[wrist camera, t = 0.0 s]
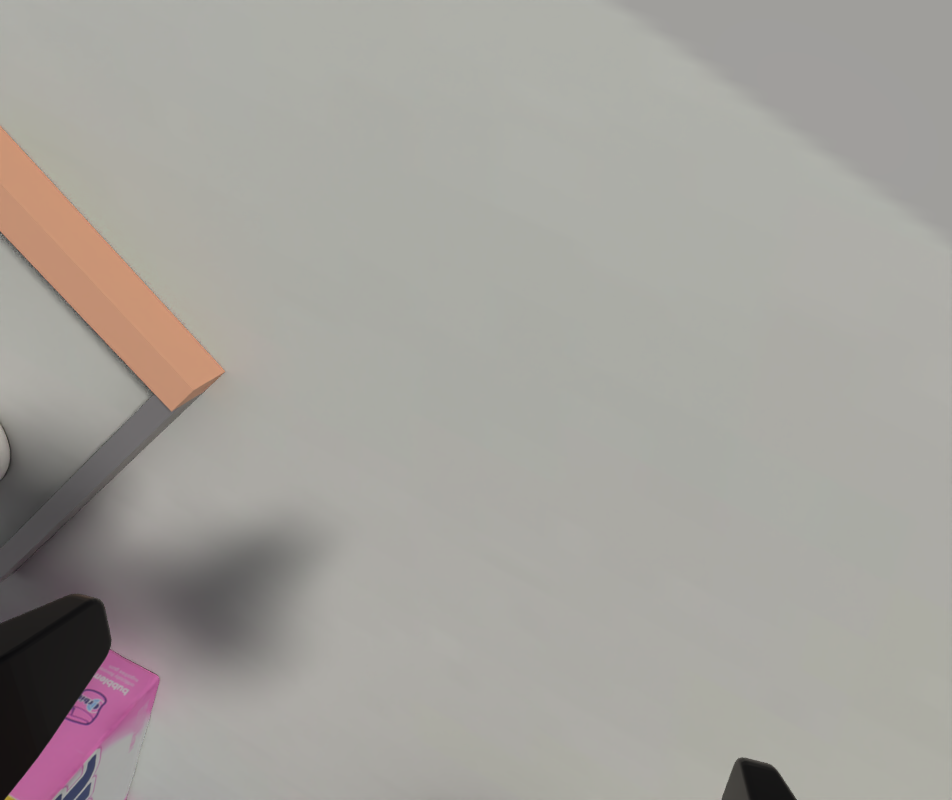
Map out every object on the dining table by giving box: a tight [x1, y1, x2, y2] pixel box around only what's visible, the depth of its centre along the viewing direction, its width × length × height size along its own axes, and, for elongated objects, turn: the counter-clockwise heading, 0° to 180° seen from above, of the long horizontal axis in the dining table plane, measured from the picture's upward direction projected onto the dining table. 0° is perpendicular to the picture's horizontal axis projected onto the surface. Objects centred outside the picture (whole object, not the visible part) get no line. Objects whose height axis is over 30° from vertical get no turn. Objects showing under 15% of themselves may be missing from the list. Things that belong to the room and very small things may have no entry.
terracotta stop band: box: [0, 126, 225, 412], centre depth 23 cm, size 2×12×2 cm, turn 40°
